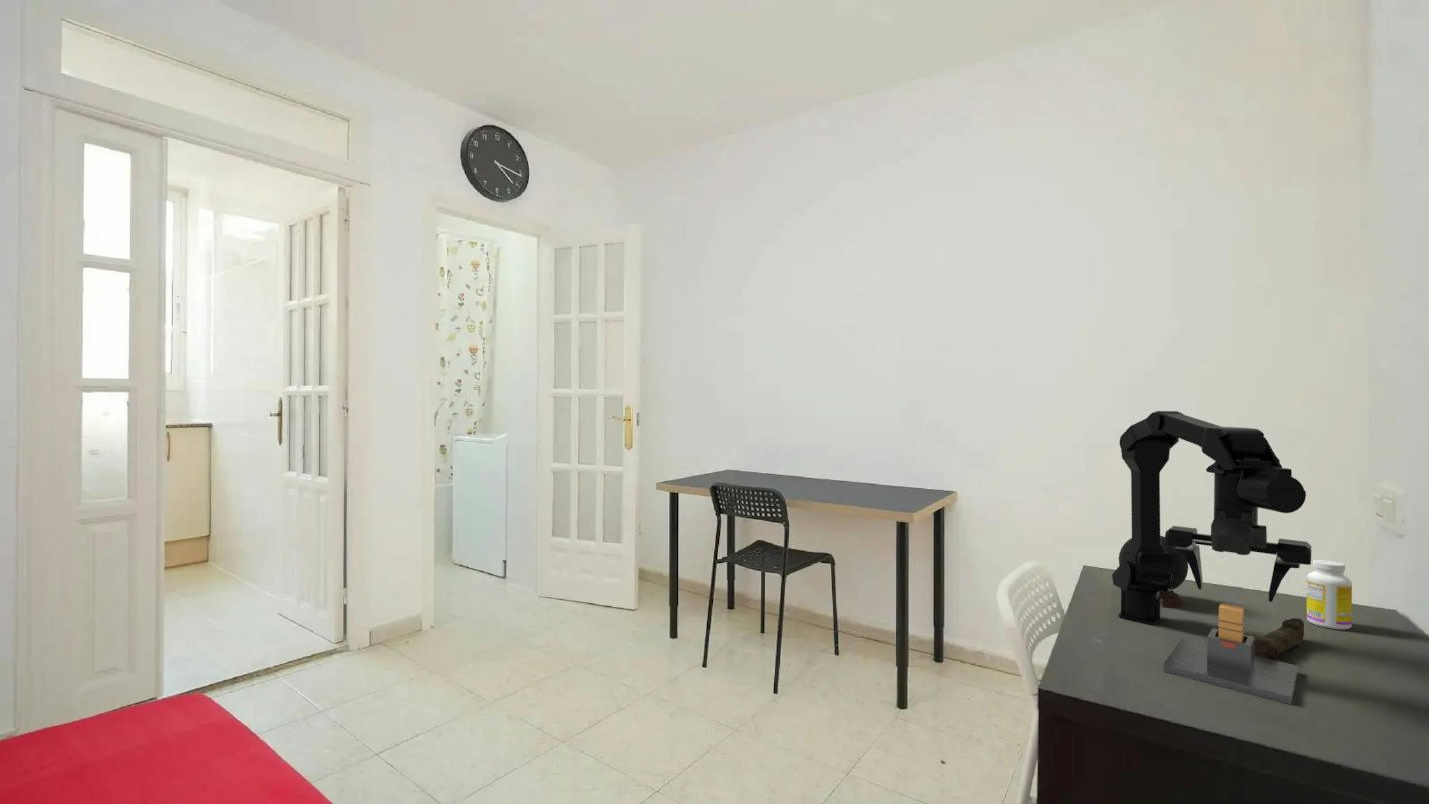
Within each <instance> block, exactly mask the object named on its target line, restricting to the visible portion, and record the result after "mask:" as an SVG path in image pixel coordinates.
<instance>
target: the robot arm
mask: <svg viewBox="0 0 1429 804" xmlns="http://www.w3.org/2000/svg"><path fill="white" fill-rule="evenodd" d="M1180 439H1181V440H1183V441H1186V442H1187V443H1191V444H1193V445H1195V446H1198V447H1199V448H1201V452H1202V453H1203V454H1204V455H1205V456H1207V457H1208V458H1210V459H1211V460H1213V461H1214V462H1213V463H1212V464H1211V465H1209V466H1208V467H1206V469H1205V471H1206V472H1207V473H1211V474H1214V475H1213V476H1214V477H1213V478H1214V479H1213V481H1214V483H1213V520H1212V521H1211V525H1210V534H1205V533H1204V534H1203V533H1198V529H1197V528H1194V527H1188V526H1187V527H1186V526H1177V525H1172V526H1171V527H1170V528H1169V529H1166V531H1165V535H1164V537H1165V545H1168V546H1175V548H1174V550H1175V551H1178V552H1181V553H1182V554H1183V556H1184V557H1185V558H1186V560H1187V562H1188V567H1189V568H1190V570H1191V574H1192V577H1193V578H1194V580H1195V584H1196V586H1197V589H1198V590H1202V589H1203V571H1202V569H1203V568H1202V562H1201V561H1202V559H1201V552H1200V546H1201V545H1202V546H1207V547H1208V546H1209V547H1211V549H1212V550H1213V551H1215V552H1218V553H1224V552H1226V553H1233V554H1236V555H1240V556H1247V555H1250V554H1251V552H1252V553H1254V552H1255V553H1261V554H1266V555H1267V554H1269V555H1274V556H1276V557H1275V561H1274V564H1273V569H1272V576H1271V580H1270V585H1269V591H1268V602H1270V603H1273V601H1274V598H1275V596H1276V593H1277V592H1278V589H1279V587H1280V586H1281V585H1280V584H1282V583H1281V582H1282V581H1283V579H1284V578H1285V576H1286V575H1287V574H1288V572H1289V571H1290V569H1300V566H1301V565H1306V566H1307V565H1308V566H1311V563H1312V545H1311V544H1310V543H1309V542H1307V541H1303V540H1294V539H1288V538H1287V539H1286V538H1278V540H1277V543H1276V542H1268V539H1267V538H1268V531H1267V530H1268V529H1267V525H1262V524H1258V517H1259V513H1258V512H1259V511H1258V510H1259V509H1263V510H1268V511H1272V512H1277V513H1281V514H1290V513H1295V512H1296V511H1298V510H1299V509H1301V508H1302V506H1303V505H1304V503H1305V502H1306V497H1307V492H1306V490H1305V489H1304V486H1303V484H1302V483H1301V482H1300V481H1299V480H1298V479H1297V478H1295V477H1294V476H1293V474H1292V469H1291V468H1283V466H1282V464H1281V460H1280V459H1279V457H1278V456H1277V455H1276V454H1275V452H1274V450H1273V448H1272V446H1271V445H1270V442H1269V441H1268V439H1267V438H1266V437H1265V434H1264V432H1263V431H1261V430H1260V429H1258V428H1251V427H1237V426H1236V427H1235V426H1234V427H1233V426H1221V425H1218V424H1214V423H1211V422H1207V421H1206V420H1205V421H1204V420H1202V419H1198V418H1196V417H1193V416H1189V415H1186V414H1184V413H1182V412H1179V411H1177V410H1173V411H1172V410H1170V411H1169V410H1156V411H1153V412H1151V413H1150V414H1149V415H1148V416H1147V417H1146V418H1144V419H1142V420H1140V421H1138V422H1136V423H1134V424H1133V423H1132V425H1130V426H1129V427H1128V428H1126V430H1125V431H1124V432H1123V433H1122V435H1121V436H1120V438H1119V447H1120V451H1121V452H1120V453H1121V459H1122V460H1123V462H1124V463H1125V464H1126V466H1127V467H1128V469H1129V470H1130V480H1131V481H1130V482H1131V483H1130V490H1131V492H1130V493H1131V501H1130V502H1131V509H1130V510H1131V538H1132V540H1131V541H1130V543H1129V544H1128V546H1127V547H1126V548H1125V550H1124V551H1123V557H1122V563H1121V564H1120V565H1119V566H1117V568H1116V569H1115V571H1113V572H1112V574H1111V576H1112V577H1111V578H1112V583H1113V585H1114V586H1116V587H1117V588H1120V612H1119V613H1118V617H1119V618H1120V619H1121V618H1122V619H1127V620H1131V621H1134V622H1140V623H1144V624H1149V625H1153V626H1154V625H1156V624H1158V622H1159V621H1160V620H1162V618H1163V607H1162V606H1163V599H1162V598H1159V591H1160V592H1168V590H1169V586H1170V583H1171V579H1172V575H1173V573H1174V572H1173V567H1172V562H1173V557H1172V555H1171V553H1167V552H1166V550H1165V549H1164V547H1163V546H1162V545H1161V541H1160V536H1161V489H1160V488H1161V484H1160V483H1161V480H1160V479H1161V477H1160V475H1161V471H1162V470H1163V469H1164V467H1165V466H1166V465H1167V463H1168V462H1169V460H1170V451H1171V449H1172V448H1173V447H1174V446H1175V445H1176V444H1178V443H1179V441H1180Z"/></svg>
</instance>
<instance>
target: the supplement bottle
mask: <svg viewBox="0 0 1429 804" xmlns="http://www.w3.org/2000/svg"><path fill="white" fill-rule="evenodd" d="M1312 567H1313V568H1314V571H1311V572H1309V573H1308V574H1307V576H1306V620H1307V621H1308V622H1309V623H1311V624H1312V625H1316V626H1319V627H1322V628H1328V629H1333V630H1343V631H1345V630H1349V629H1351V628H1352V625H1353V624H1352V623H1353V620H1352V618H1353V613H1352V611H1353V610H1352V608H1353V606H1352V605H1353V597H1352V595H1353V594H1352V593H1353V582H1352V581H1351V579H1350V578H1349V577H1347V576H1345V575H1344V573H1345V571H1346V565H1345V563H1342V562H1338V561H1334V560H1325V559H1313V561H1312Z"/></svg>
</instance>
